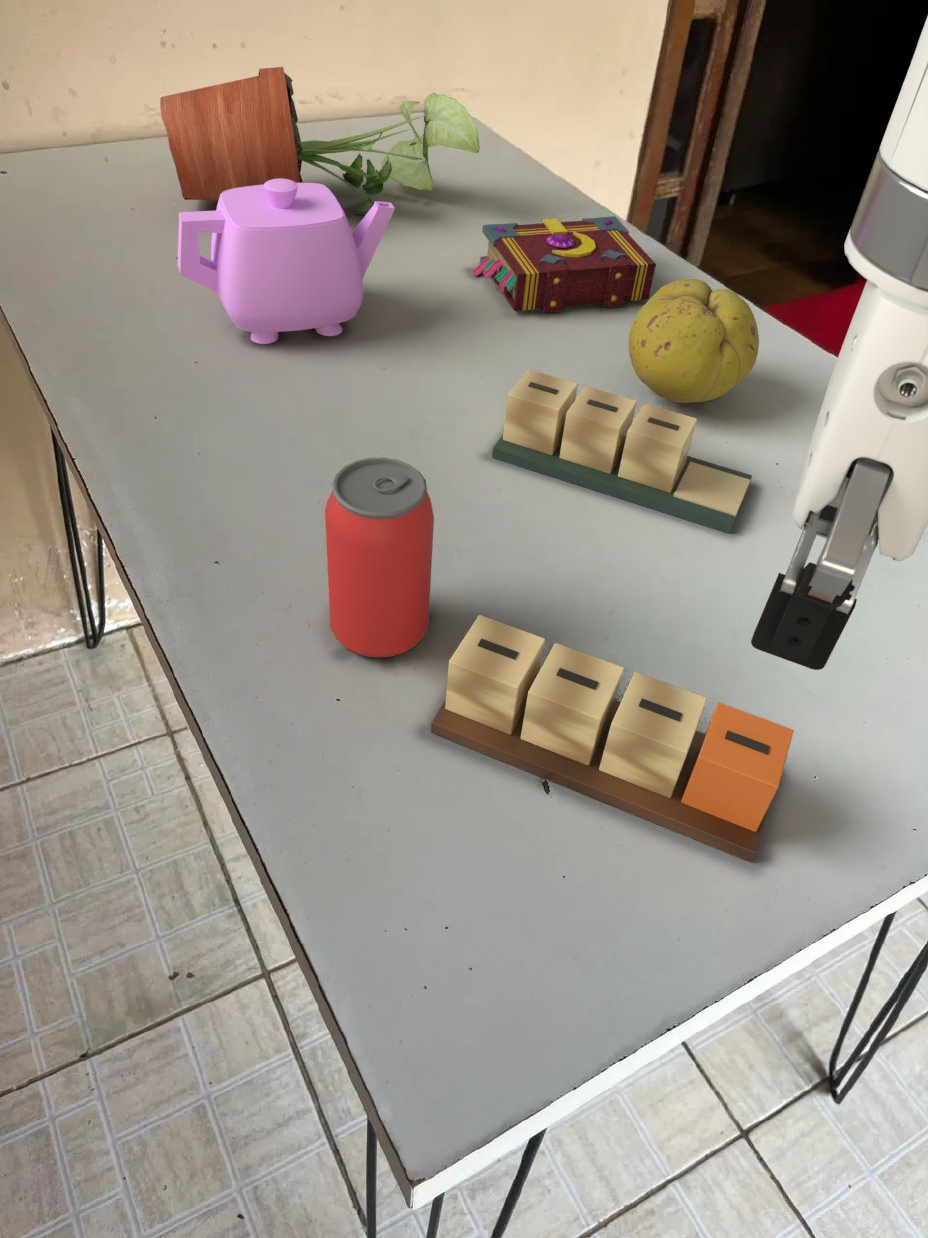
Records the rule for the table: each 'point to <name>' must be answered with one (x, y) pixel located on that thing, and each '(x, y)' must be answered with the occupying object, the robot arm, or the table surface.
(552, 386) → the slotted cube rack
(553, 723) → the slotted cubes on board
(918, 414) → the robot arm
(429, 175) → the potted plant
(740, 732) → the orange slotted cube
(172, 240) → the table surface
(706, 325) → the fruit
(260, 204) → the teapot
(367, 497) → the beer can
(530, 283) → the decorative book
